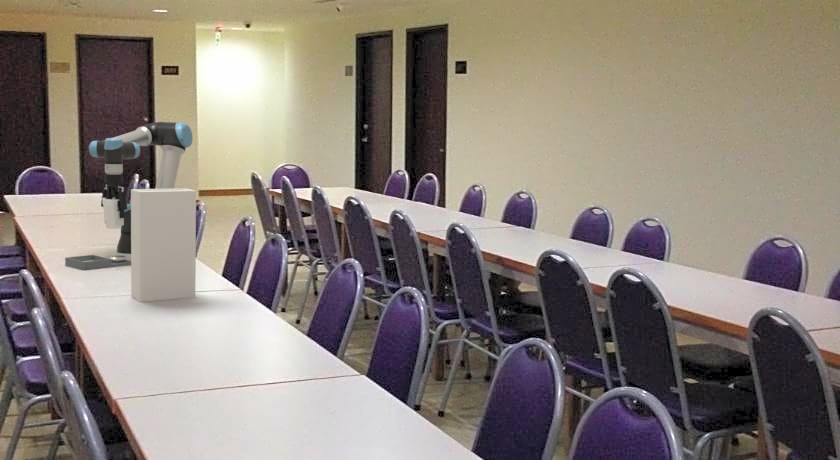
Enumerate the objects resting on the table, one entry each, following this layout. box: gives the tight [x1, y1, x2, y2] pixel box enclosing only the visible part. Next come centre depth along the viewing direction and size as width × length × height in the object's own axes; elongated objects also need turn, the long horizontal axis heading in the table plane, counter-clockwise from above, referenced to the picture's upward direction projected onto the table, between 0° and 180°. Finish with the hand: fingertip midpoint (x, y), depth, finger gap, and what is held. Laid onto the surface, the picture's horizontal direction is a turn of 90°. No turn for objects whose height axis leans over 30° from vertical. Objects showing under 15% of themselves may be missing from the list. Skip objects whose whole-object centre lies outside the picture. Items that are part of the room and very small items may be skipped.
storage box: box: [130, 187, 197, 303], centre depth 353 cm, size 21×10×40 cm, turn 124°
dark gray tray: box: [64, 254, 131, 271], centre depth 418 cm, size 25×15×4 cm, turn 140°
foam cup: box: [101, 196, 121, 230], centre depth 421 cm, size 10×9×13 cm
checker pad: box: [104, 254, 126, 262], centre depth 423 cm, size 9×9×2 cm
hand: (114, 224), depth 421 cm, fingers closed on foam cup, 9 cm apart
